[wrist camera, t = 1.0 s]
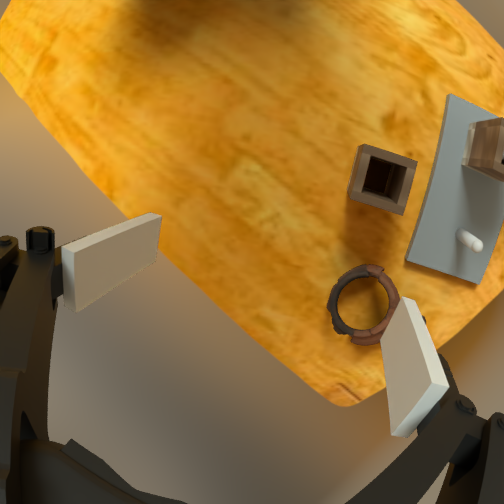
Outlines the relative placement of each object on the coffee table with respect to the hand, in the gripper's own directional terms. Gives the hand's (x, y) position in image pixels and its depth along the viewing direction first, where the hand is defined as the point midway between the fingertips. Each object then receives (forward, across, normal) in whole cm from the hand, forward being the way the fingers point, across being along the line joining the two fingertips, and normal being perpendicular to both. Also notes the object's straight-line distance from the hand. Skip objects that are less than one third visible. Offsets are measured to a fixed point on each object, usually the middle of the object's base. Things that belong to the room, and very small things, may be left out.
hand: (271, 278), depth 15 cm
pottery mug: (+22, +11, -8) cm, 26 cm away
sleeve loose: (+21, +6, +6) cm, 23 cm away
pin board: (+21, +18, +8) cm, 29 cm away
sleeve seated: (+20, +18, +14) cm, 30 cm away
